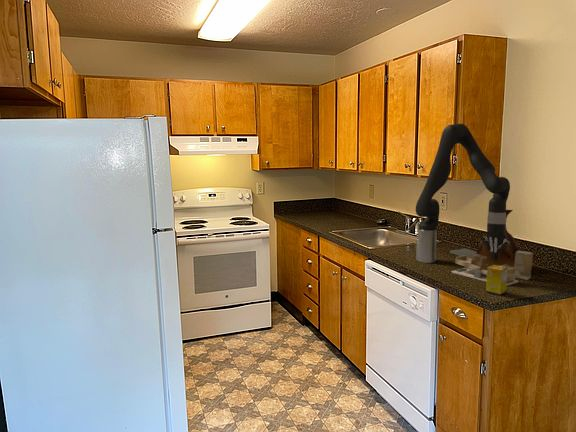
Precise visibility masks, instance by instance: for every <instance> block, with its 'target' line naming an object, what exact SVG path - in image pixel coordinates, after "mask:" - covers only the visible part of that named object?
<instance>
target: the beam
mask: <svg viewBox="0 0 576 432" xmlns="http://www.w3.org/2000/svg"><path fill="white" fill-rule="evenodd" d="M471 261H472V259H470V258H467V257H466V255H463V256H456V257H455V258H454V263H455V264H457V265H460V266H461V267H462V266H463V268H467V269H471V270H480V271H481V273H483V274H486V275H487V267H490V266H489V265H487V264H486V267H485V268H481V267H479V266H476V265H473V264H471ZM501 266H503V267H508V271H507V282H509V281H512V280H516V278H515V277H514V273H515V268H516V267H513V266H510V265H507V264H505V265H501Z"/></svg>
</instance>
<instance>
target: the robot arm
mask: <svg viewBox="0 0 576 432" xmlns="http://www.w3.org/2000/svg"><path fill="white" fill-rule="evenodd" d="M457 144H460V145H461V146H462V148H464V149H465V151H466V152H467V155H468V160H469V163H470V165H471V167H472V168H473V169H474V170H475V173H477V175H479V177H480V179H481V180H482V183H483V185H484V187H485V188H486V189H487V191H489V192H490V193H491V194H493V195H492V198H491V199H489V201H488V213H487V223H486V224H487V225H486V234H487V235H486V234H485V235H486V237H484V236H483V237H484V238H483V237H482V238H481V240H482V241H483V243H484V245H485V246H486V248H487V249H488V250H490V251H491V259H492V260H495V261H496V260H498V258H499V252H501V251H504V250H505V249H506V247H507V246H508V245H509V244H510V241H507V240H506V236H505V232H506V229H507V219H506V210H507V201H508V199H509V195H510V191H511V184H510V180H509V179H508V178H507V177H505V176H498V175H497V173H495V172H496V167H495V166H494V165H493V163H492V162H491V161H490V160H489V159H488V158H487V157H486V155H485V153H483V151H482V150H481V148H480V146H479V145H478V143H477V141H476V139H475V138H474V136H473V135H472V133H471V131H470V129H469V127H468V126H467V125H465V124H464V123H455V124H454V123H453V124H448V125H446V126H445V127H444V128H443V131H442V133H441V137H440V140H439V144H438V148H437V152H436V154H435V158H434V161H433V163H432V165H431V168H430V171H429V173H428V177H427V180H426V183H425V185H424V187H423V189H422V191H421V193H420V195H419V198H418V200H416V201H417V202H416V204H415V214H416V215H417V216H418V217H419V218H420V217H421V218H425V219H424V220H423V221H422V222H419V223H418V228H417V229H418V230H417V231H418V233H417V235H418V236H417V242H416V251H415V260H416V261H417V262H420V263H426V264H431V263H435V262H436V261H437V257H436V255H437V232H438V231H437V230H438V226H439V219H440V204H439V201H438V200H437V199H435V198H434V196H435V195H436V193H437V192H438V191H439V190H440V189H442V188H443V187H444V186H445V184H446V183H447V181H448V180H449V178H450V177H449V176H450V175H451V172H452V161H451V155H452V152H453V150H454V147H455V146H456V145H457ZM488 240H489V241H488ZM503 241H504V242H503ZM489 242H490V243H489ZM502 243H503V245H502V246H501V244H502Z"/></svg>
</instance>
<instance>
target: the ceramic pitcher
mask: <svg viewBox="0 0 576 432" xmlns="http://www.w3.org/2000/svg"><path fill="white" fill-rule="evenodd" d="M512 212H513V209H506V220H507V219H508V218H507V217H508V216H509V214H510V213H512ZM486 235H487V233H486V234H485V235H484V236H483V237H482V238H484V237H486ZM505 236H506V240H507V241H510V244H509V245H508V246H507V247H506V249H505V250H504V251H501V252H499V258H498V260H496V261H495V260H492V259H491V251H490V250H488V249H487V248H486V246H485V245H484V243H483V241H482V239H481V240H480V242H479V244H478V245H477V249H476V254H479V255H482V256H485V257H487V262H486V264H487V265H489V267H490V266H492V265H498V266H501V265H505V264H507V265H510V266H513V267H514V265H515V255H516V252H517V251H521V250H520V247H519V245H518V242H517V240H516V239H515V237H514V235H512V234H511V233H509V231H508V230H507V228H506V232H505ZM488 241H489V240H488ZM503 242H504V241H503ZM489 243H490V242H489ZM502 245H503V243H502V244H501V246H502Z"/></svg>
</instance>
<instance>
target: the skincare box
mask: <svg viewBox="0 0 576 432" xmlns="http://www.w3.org/2000/svg"><path fill="white" fill-rule="evenodd" d="M533 254H534V253H533V252H530V251H524V250H520V251H517V252H516V255H515V265H514V267H516V268H515V273H514V277H515V279H521V280H525V281H528V280H530V279H531V275H532V266H533V265H532V264H533V258H534V255H533Z"/></svg>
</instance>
